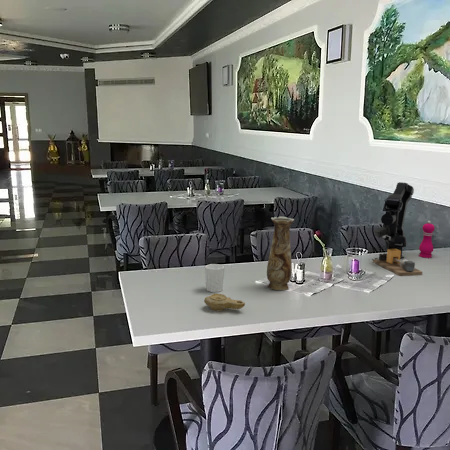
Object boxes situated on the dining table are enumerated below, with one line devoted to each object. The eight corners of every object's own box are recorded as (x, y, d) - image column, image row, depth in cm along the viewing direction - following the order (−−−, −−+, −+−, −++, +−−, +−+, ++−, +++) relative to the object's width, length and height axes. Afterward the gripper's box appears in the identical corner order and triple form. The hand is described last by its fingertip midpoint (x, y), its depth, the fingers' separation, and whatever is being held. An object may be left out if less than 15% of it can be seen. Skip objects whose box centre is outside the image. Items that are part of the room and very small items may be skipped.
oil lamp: (245, 313, 177) (246, 300, 176) (207, 315, 174) (207, 302, 173) (239, 303, 187) (239, 291, 186) (202, 305, 184) (203, 292, 183)
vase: (261, 286, 207) (264, 218, 201) (276, 281, 215) (279, 215, 209) (281, 292, 200) (284, 221, 194) (295, 287, 208) (299, 218, 202)
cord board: (373, 262, 250) (374, 250, 249) (393, 261, 253) (394, 249, 251) (399, 276, 227) (400, 263, 226) (422, 274, 230) (423, 262, 228)
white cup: (214, 285, 207) (215, 262, 205) (227, 290, 202) (228, 267, 200) (201, 289, 202) (201, 266, 200) (213, 294, 196) (214, 270, 194)
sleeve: (386, 261, 244) (387, 249, 243) (395, 261, 245) (396, 248, 244) (390, 263, 240) (391, 251, 239) (399, 263, 241) (400, 250, 240)
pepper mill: (415, 255, 265) (419, 219, 261) (425, 254, 268) (428, 219, 264) (425, 258, 259) (429, 222, 255) (435, 257, 262) (439, 221, 258)
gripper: (367, 219, 250) (365, 248, 253) (387, 226, 232) (384, 257, 235) (387, 218, 253) (384, 247, 256) (407, 225, 235) (404, 256, 238)
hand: (388, 252), depth 246 cm, fingers closed
